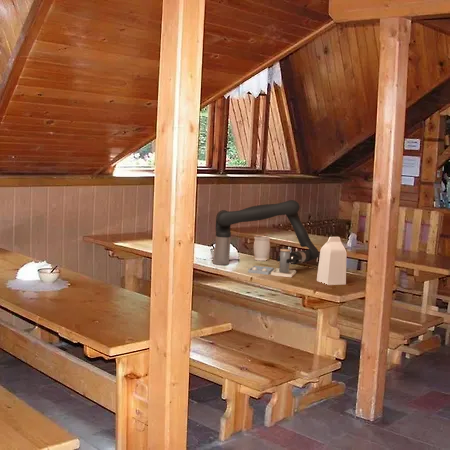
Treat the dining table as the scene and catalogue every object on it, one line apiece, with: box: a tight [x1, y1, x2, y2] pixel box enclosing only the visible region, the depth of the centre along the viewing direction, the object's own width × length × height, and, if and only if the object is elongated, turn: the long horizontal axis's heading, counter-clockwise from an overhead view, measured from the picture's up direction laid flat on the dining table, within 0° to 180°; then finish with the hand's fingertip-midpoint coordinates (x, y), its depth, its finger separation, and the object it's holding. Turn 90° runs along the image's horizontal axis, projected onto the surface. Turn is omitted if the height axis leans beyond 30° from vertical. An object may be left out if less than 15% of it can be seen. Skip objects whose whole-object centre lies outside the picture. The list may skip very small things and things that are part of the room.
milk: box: [316, 236, 348, 286], centre depth 375 cm, size 12×12×26 cm
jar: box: [253, 235, 271, 262], centre depth 437 cm, size 11×10×15 cm
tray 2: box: [270, 267, 297, 278], centre depth 390 cm, size 12×15×2 cm
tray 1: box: [248, 265, 275, 276], centre depth 394 cm, size 12×15×2 cm
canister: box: [278, 248, 291, 273], centre depth 390 cm, size 6×6×13 cm
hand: (282, 260), depth 388 cm, fingers closed on canister, 5 cm apart
